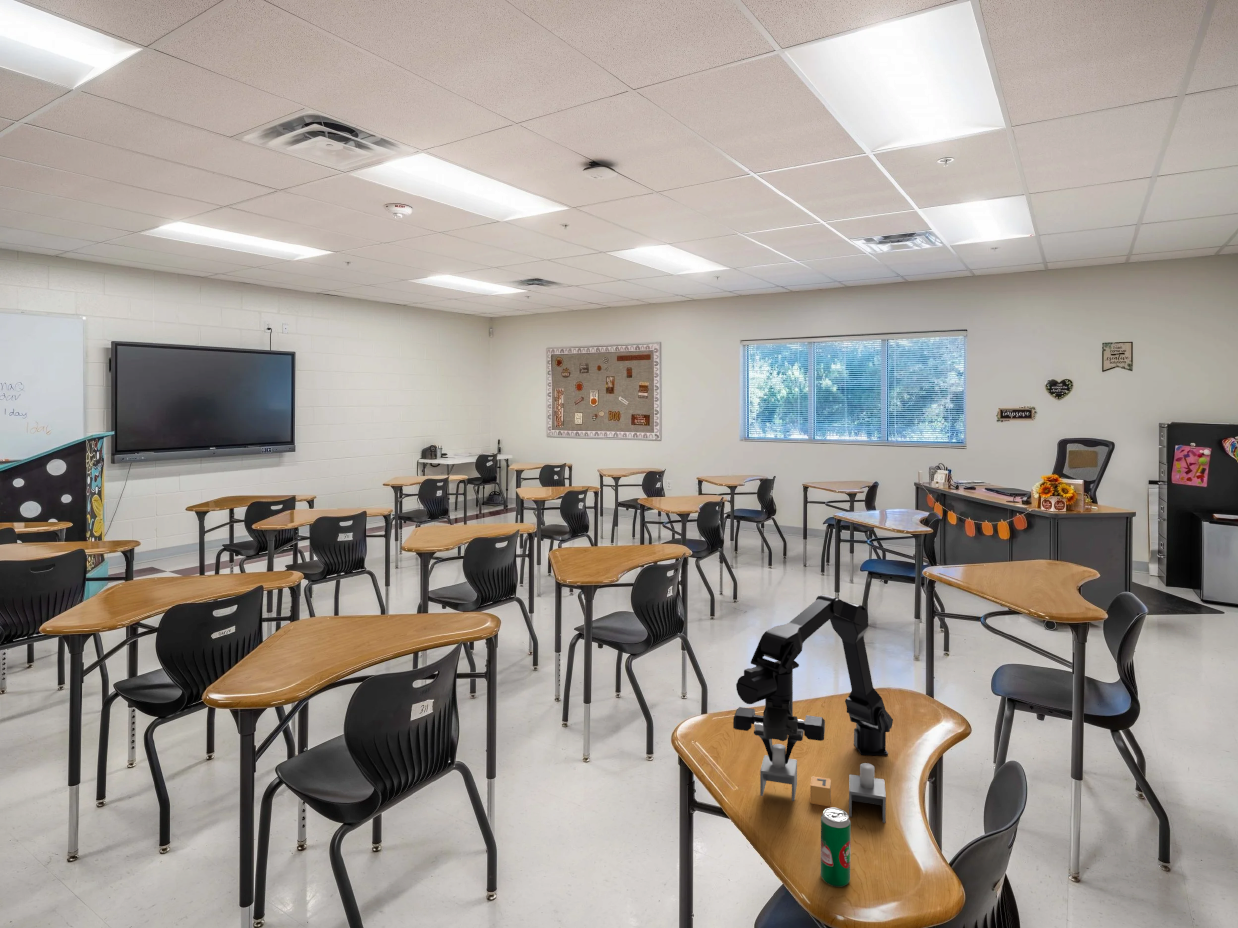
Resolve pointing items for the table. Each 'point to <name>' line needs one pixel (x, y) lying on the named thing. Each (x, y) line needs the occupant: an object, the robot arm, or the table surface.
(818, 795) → the letter cube
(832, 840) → the soda can
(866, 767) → the hood
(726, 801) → the table surface
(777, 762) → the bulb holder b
